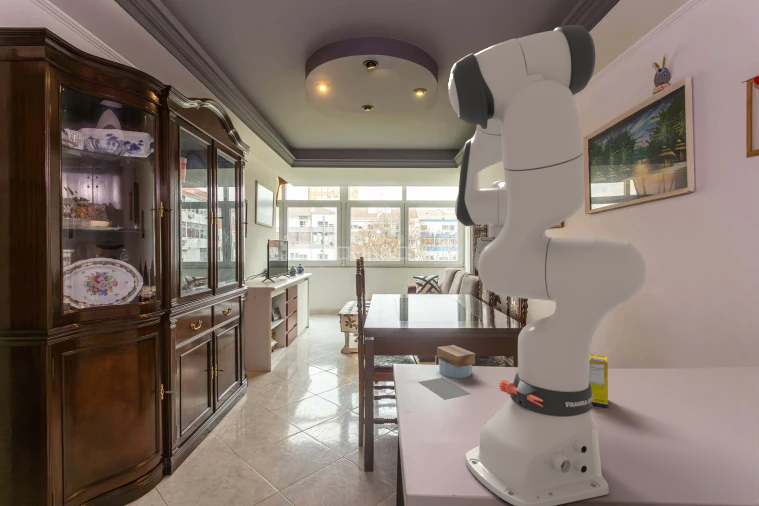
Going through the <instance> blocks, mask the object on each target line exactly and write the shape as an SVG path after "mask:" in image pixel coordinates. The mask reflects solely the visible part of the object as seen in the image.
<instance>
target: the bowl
mask: <svg viewBox="0 0 759 506" xmlns="http://www.w3.org/2000/svg"><path fill="white" fill-rule="evenodd" d="M438 360H439V361H438V362H439V363H438V364H439V366H438V368H439V369H438V370H439V373H440V374H441V375H443V376H444V377H449V378H453V379H462V378H463V379H464V378H469V377H470V376H472V375H473V365H467V366H462V367H456V366H454V365H452V364H450V363H448V362H446V361H444V360H442V359H440V358H439V359H438Z"/></svg>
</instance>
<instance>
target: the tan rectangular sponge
mask: <svg viewBox="0 0 759 506" xmlns="http://www.w3.org/2000/svg"><path fill="white" fill-rule="evenodd" d="M436 357H437V358H439V359H442V360H444V361H446V362H448V363H450V364H452V365H454V366H456V367H462V366H467V365H472V366H474V365H476V353H475V352H472V351H469V350H467V349H464V348H463V347H459V346H457V345H455V344H451V345H444V346H443V345H442V346H436Z"/></svg>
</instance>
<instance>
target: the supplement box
mask: <svg viewBox="0 0 759 506" xmlns="http://www.w3.org/2000/svg"><path fill="white" fill-rule="evenodd" d="M608 367H609V366H608V356H607V355H604V354H598V353H597V354H596V353H590V361H589V384H590V385H591V387H592V394H593V400H592V406H597V407H603V408H606V409H608V408H609V406H608V405H609V390H608V389H609V388H608V387H609V383H608V382H609V379H608V378H609V375H608V374H609V373H608V372H609V371H608V369H609V368H608Z"/></svg>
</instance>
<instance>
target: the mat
mask: <svg viewBox="0 0 759 506" xmlns="http://www.w3.org/2000/svg"><path fill="white" fill-rule="evenodd" d="M418 383H419V384H420V385H422V386H423V387H425V388H426V389H428V390H429V391H431V392H432V393H434V394H435V395H437V396H438V397H440V398H441V399H443V400H449V399H454V398H460V397H462V396H467V395H471V393H470V392H469V391H467V390H466V389H463V388H462V387H460V386H458V385H457V384H455V383H453V382H452V381H449V380H448V379H446V378H444V377H437V378H433V379H427V380H422V381H418Z"/></svg>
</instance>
